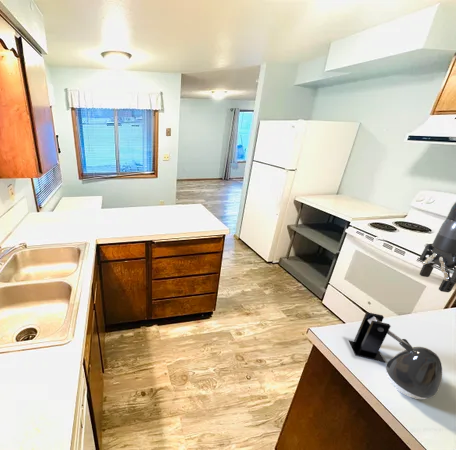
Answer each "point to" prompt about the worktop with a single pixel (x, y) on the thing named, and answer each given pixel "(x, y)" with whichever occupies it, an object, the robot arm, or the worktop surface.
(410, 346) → the lever
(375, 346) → the bracket
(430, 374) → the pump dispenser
